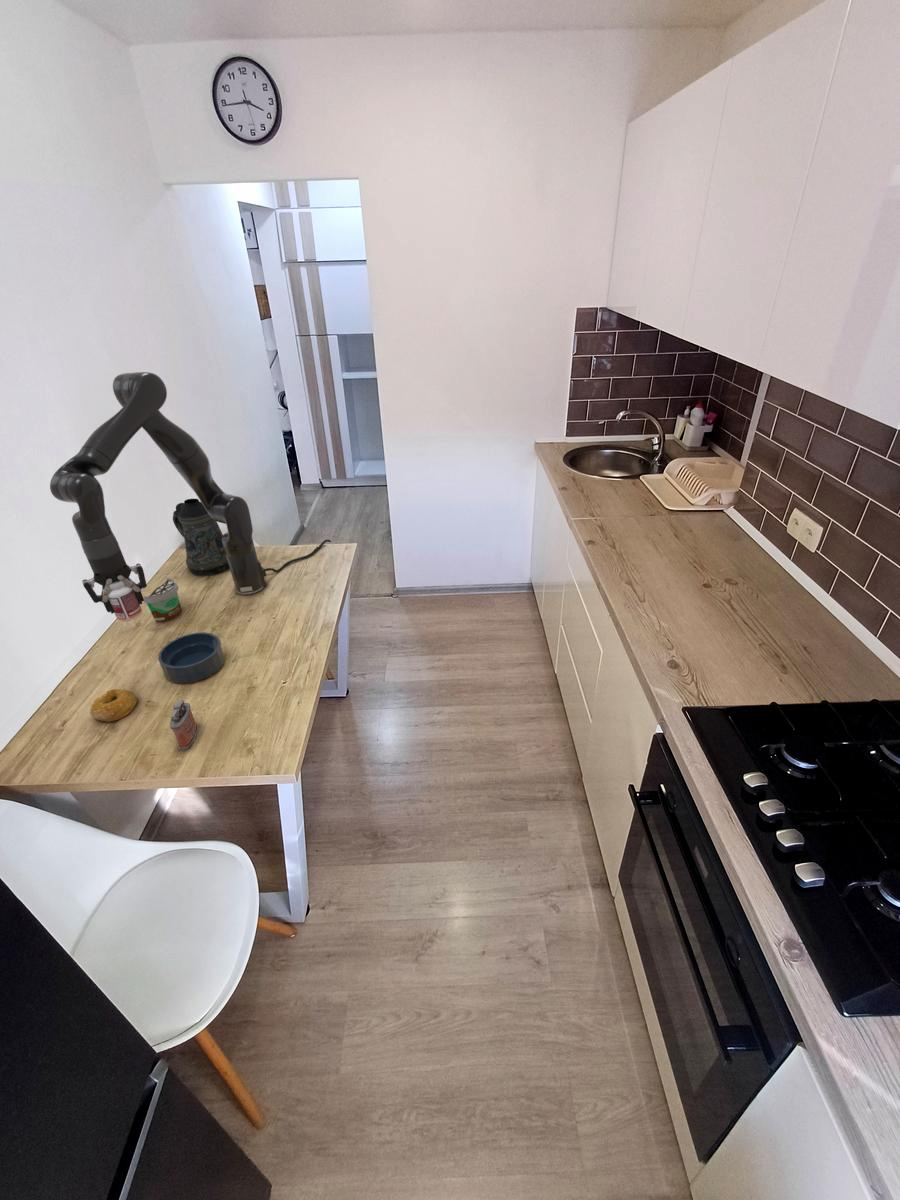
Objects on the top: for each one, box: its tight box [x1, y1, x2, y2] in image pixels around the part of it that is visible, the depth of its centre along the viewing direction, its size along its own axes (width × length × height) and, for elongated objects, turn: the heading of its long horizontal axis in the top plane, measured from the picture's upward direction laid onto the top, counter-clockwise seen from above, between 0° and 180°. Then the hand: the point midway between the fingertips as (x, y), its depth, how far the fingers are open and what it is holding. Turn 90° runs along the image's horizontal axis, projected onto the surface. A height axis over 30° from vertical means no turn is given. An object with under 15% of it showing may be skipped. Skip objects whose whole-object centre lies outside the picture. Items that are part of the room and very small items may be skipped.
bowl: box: [157, 631, 226, 684], centre depth 156 cm, size 16×16×6 cm
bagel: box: [90, 688, 138, 723], centre depth 143 cm, size 10×11×5 cm
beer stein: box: [172, 498, 230, 577], centre depth 202 cm, size 16×19×25 cm
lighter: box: [169, 698, 200, 752], centre depth 132 cm, size 8×3×10 cm, turn 5°
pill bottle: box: [108, 581, 143, 623], centre depth 148 cm, size 6×6×11 cm
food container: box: [143, 577, 182, 623], centre depth 178 cm, size 12×6×10 cm, turn 168°
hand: (126, 607), depth 149 cm, fingers closed on pill bottle, 6 cm apart
